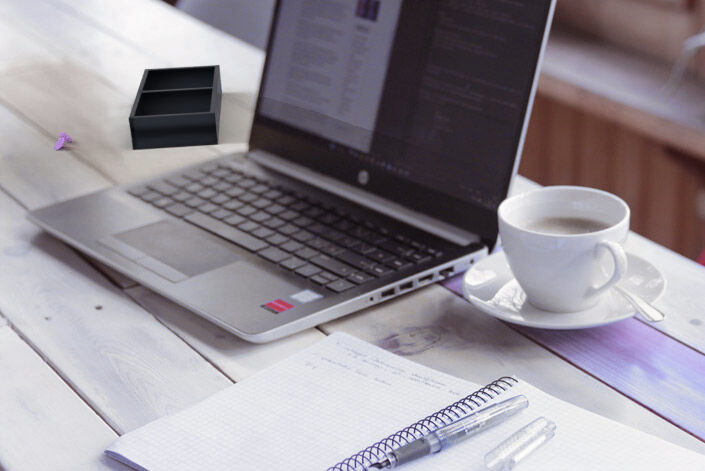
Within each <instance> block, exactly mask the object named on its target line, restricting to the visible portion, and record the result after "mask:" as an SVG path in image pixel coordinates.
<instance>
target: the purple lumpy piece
mask: <svg viewBox="0 0 705 471" xmlns="http://www.w3.org/2000/svg"><path fill="white" fill-rule="evenodd" d="M72 138H73V137H72V136H70V134H67V133H66V132H64V131H61V132H60V133H59V139H58V140H57V141H56V143H55V144H54V150H55V151H58V150H60V149H61V148H66V145H65V142H66V143H70V142H73V140H72Z"/></svg>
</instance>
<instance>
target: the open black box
mask: <svg viewBox="0 0 705 471" xmlns="http://www.w3.org/2000/svg"><path fill="white" fill-rule="evenodd" d="M222 97H223V87H222V77H221V67H220V64H211V65H196V66H179V67H178V66H177V67H160V68H159V67H157V68H145V69H144V70H143V74H142V76H141V80H140V83H139V85H138V89H137V92H136V95H135V97H134V101H133V104H132V107H131V110H130V112H129V115H128V126H129V131H130V138H131V145H132V150H145V149H146V150H147V149H161V148H162V149H164V148H177V147H178V148H179V147H192V146H193V147H194V146H195V147H196V146H208V145H212V146H213V145H219V135H220V134H219V133H220V125H221V124H220V123H221V111H222V100H223V99H222Z"/></svg>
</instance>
